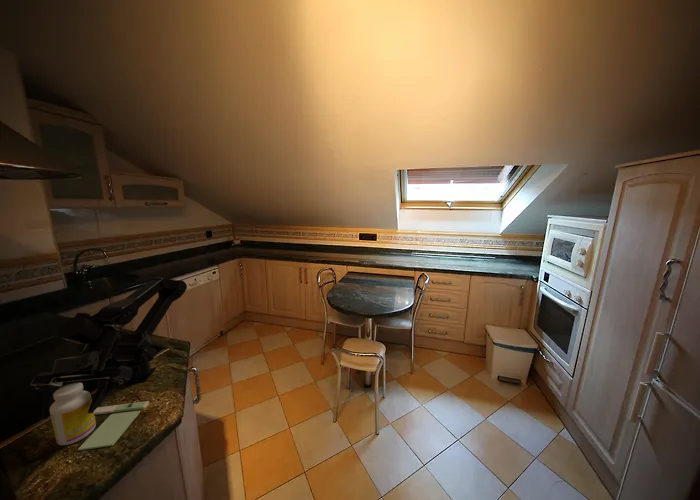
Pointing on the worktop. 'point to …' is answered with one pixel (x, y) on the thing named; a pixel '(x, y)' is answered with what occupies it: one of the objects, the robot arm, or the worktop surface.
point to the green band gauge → (112, 424)
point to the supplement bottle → (71, 414)
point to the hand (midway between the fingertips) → (67, 415)
